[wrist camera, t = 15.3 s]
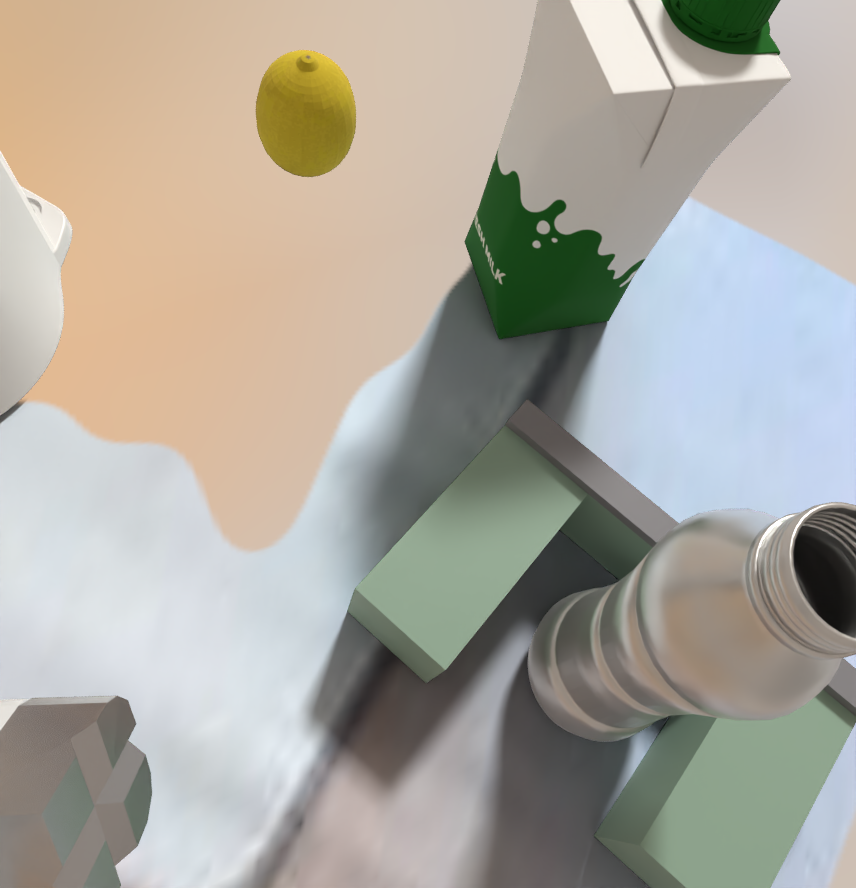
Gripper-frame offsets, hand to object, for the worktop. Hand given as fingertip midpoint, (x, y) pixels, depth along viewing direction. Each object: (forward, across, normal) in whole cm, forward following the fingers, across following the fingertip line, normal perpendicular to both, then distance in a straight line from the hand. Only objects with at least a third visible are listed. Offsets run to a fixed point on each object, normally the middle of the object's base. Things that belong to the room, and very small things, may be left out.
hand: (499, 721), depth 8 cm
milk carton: (+40, -4, +4) cm, 40 cm away
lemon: (+43, +9, -4) cm, 44 cm away
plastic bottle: (+24, -4, +19) cm, 31 cm away
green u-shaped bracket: (+24, -5, +19) cm, 31 cm away
